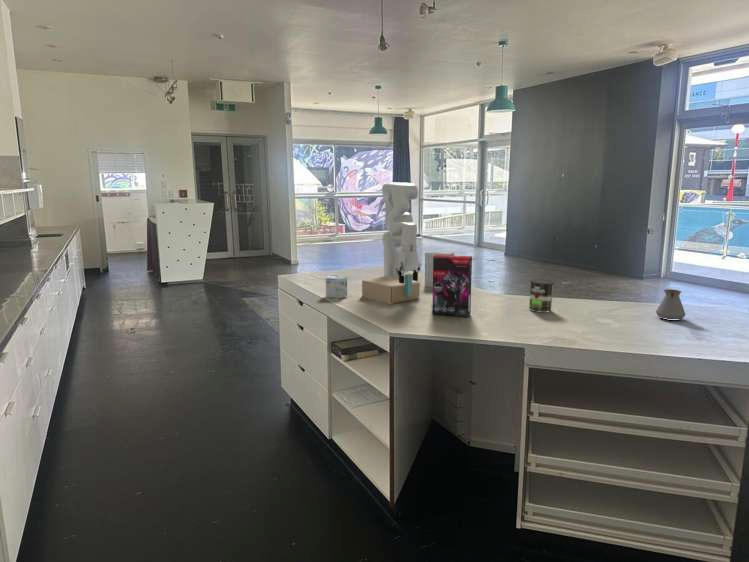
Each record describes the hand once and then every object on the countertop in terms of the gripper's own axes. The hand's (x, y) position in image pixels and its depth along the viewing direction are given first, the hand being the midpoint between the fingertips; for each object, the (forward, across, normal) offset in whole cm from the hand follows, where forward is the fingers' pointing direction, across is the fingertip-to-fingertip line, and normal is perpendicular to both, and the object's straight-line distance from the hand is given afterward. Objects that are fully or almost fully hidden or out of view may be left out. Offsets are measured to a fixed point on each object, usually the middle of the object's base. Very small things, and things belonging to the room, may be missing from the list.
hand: (408, 281), depth 259 cm
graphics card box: (+11, +3, +31) cm, 33 cm away
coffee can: (+11, -35, +54) cm, 65 cm away
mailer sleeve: (+10, 0, -13) cm, 17 cm away
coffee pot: (+11, -60, +102) cm, 119 cm away
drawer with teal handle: (+9, 0, -11) cm, 14 cm away
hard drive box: (+11, -41, -15) cm, 45 cm away
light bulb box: (+11, +20, -33) cm, 40 cm away
